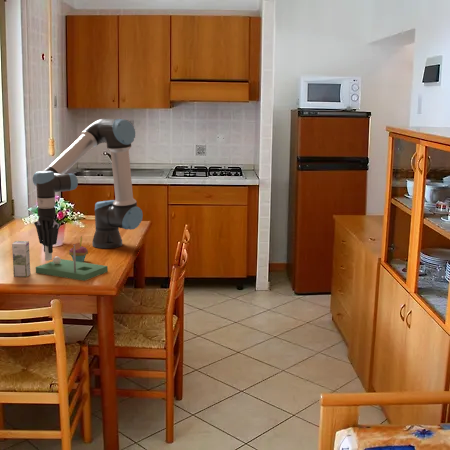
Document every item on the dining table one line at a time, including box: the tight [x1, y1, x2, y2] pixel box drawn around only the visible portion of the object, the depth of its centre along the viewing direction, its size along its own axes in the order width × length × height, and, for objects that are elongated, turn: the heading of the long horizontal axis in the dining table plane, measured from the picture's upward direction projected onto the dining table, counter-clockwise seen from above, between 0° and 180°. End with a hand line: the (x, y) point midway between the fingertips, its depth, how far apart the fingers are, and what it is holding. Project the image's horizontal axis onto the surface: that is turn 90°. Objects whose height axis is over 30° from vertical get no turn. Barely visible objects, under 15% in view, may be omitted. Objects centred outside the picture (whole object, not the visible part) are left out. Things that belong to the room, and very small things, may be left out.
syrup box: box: [11, 240, 31, 278], centre depth 266 cm, size 6×6×14 cm
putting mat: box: [35, 242, 109, 282], centre depth 272 cm, size 16×26×14 cm, turn 64°
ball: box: [52, 256, 62, 264], centre depth 276 cm, size 4×4×4 cm
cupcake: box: [68, 235, 89, 263], centre depth 290 cm, size 9×8×12 cm
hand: (48, 259), depth 278 cm, fingers closed
